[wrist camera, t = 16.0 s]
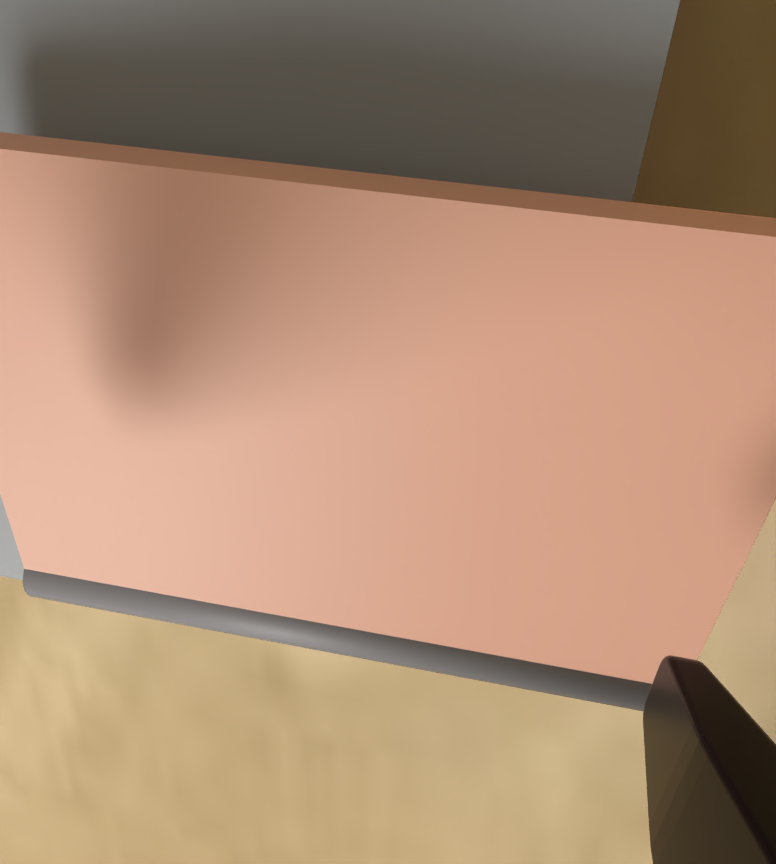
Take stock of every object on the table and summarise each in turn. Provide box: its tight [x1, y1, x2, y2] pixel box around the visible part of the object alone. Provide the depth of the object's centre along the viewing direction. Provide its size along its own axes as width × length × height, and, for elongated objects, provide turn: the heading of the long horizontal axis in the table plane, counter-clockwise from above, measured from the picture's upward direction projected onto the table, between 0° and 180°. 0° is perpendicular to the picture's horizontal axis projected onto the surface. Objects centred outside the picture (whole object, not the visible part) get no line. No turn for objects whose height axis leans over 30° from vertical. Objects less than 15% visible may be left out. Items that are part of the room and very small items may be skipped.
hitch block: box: [0, 0, 680, 580], centre depth 13 cm, size 18×14×4 cm
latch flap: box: [0, 132, 776, 711], centre depth 11 cm, size 12×1×8 cm
